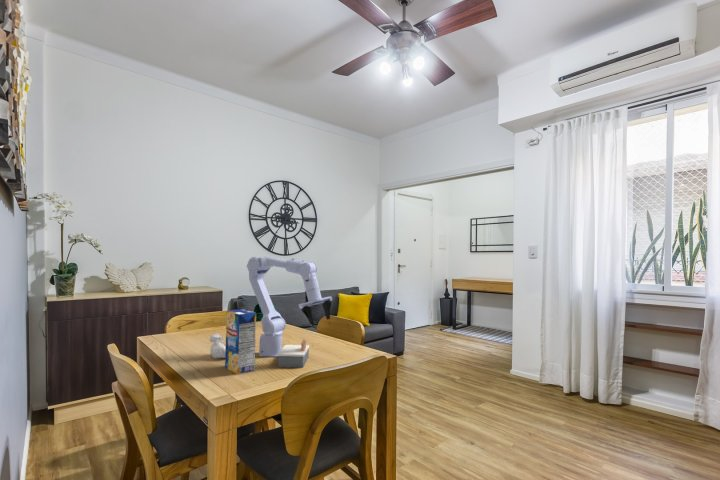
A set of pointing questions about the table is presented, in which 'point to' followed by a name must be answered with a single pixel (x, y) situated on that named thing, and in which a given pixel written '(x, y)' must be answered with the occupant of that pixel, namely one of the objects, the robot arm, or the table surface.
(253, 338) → the beverage box
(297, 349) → the carton lid
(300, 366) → the carton
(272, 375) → the table surface
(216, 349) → the bust
